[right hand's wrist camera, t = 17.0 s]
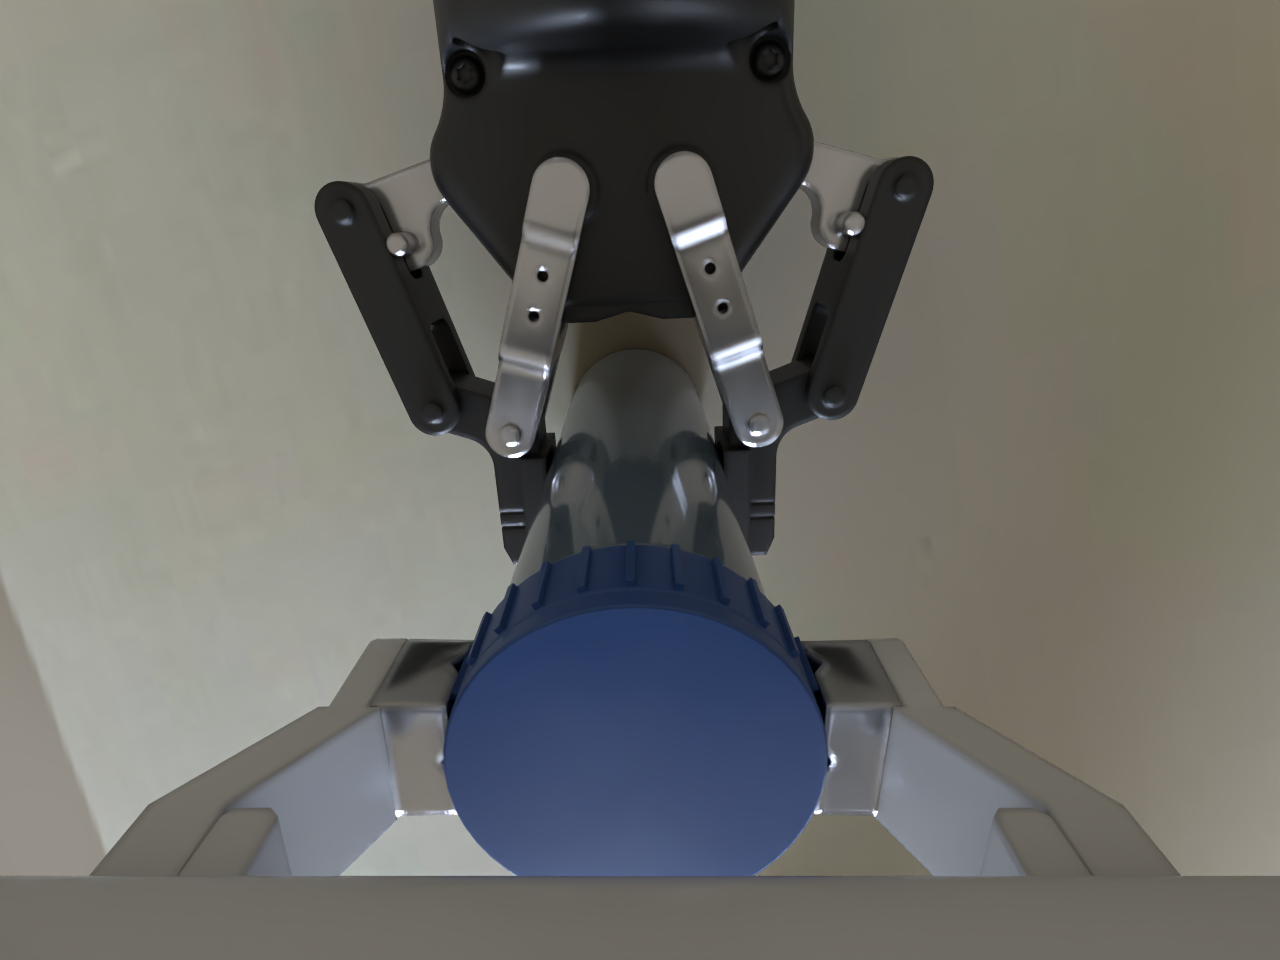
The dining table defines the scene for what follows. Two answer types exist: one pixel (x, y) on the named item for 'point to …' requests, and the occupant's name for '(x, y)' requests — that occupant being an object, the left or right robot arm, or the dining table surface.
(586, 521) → the jar
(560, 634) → the lid
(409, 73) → the dining table surface
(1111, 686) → the dining table surface
